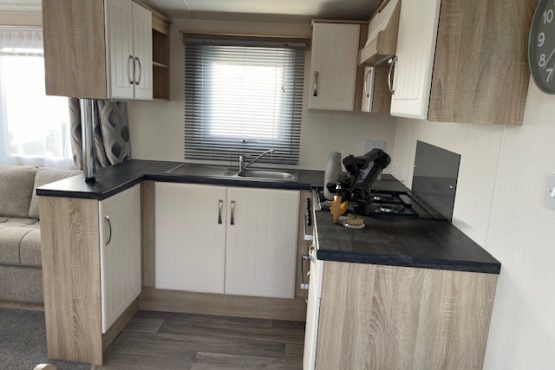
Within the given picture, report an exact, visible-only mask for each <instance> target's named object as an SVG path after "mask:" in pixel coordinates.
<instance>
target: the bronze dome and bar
mask: <svg viewBox="0 0 555 370" xmlns="http://www.w3.org/2000/svg"><path fill="white" fill-rule="evenodd" d="M341 200H342V196H338V195H336V196H335V198H334V200H333V201H334V209H333V214H332V223H335V224H338V223H340V220H341V221H342V220H343V221H345V223H346V224H349V225H356V226H358V225H362V224H363V223H364V219H363V218H362V215H357V214H356V216H353V214H351V213H348V214H347V216H346V215H345V216H344V215H340V211H341Z"/></svg>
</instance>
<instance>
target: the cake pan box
mask: <svg viewBox="0 0 555 370" xmlns="http://www.w3.org/2000/svg"><path fill="white" fill-rule="evenodd" d="M373 165H374V163H373V161H372V162H371V163H369V167H368V168H367V169H366V170H360V169H359V170H360V171H361V174H362V179H361V180H364V179H365V177H366V176H367V174H368V173H369V171H370V169H371V168H372V166H373ZM383 171H384V169H383V170H381V172H380V173H379V175H378V176H377V178H376V179H377V180H376V181H381V180H382V175H383ZM359 178H360V177H359Z"/></svg>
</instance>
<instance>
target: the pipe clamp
mask: <svg viewBox="0 0 555 370" xmlns="http://www.w3.org/2000/svg"><path fill="white" fill-rule="evenodd" d="M348 202H349V200H347V201H346V202H344V203H343V204H341V211H340V216H342V215H343V214H345V212H347V211H346V210H347V209H348ZM330 206H331V207H330V214H332V215H333V209H334V200H331V205H330Z"/></svg>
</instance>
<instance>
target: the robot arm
mask: <svg viewBox="0 0 555 370" xmlns="http://www.w3.org/2000/svg"><path fill="white" fill-rule="evenodd" d="M372 161H373V163H374V165H373V166H372V168H371V169H370V171H369V173H368V174H367V176H366V177H365V179H362V182H359V177H360V178H362V174H361V171H360V170H366V169H367V168H368V167H369V163H371V162H372ZM391 162H392V157H391V156H390V155H389V154H388V153H387V152H385V151H384V149H382V148H376V147H374V148H372V149H371V150H369V151H368V152H366V153H365V154H363V155H357V156H355V155H354V154H349V155H348V156H345V157H344V158H342V159H341V164H342V166H343V169H344V170H345V172H346V175H345V174H343V175H341V174H339V175H338V178H337V181H338V182H340V183H339V185H341V186H337V185H336V183H332V182H328V183H327V184H326V187H327V189H328V191H329V193H332V194H336V193H337V194H338V196H342V200H341V204H343V203H344V202H346V201H347V200H348V201H349V200H351V201H352V202H354V204H353V211H351V213H353V214H355V215H356V216H357V215H361V216H367V215H368V216H369V215H370V213H369V212H368V210H369V209H368V208H369V205H371V204H372V201H373V197H372V195H371V187H372V186H373V185H374V183H375V181H377V180H376V178H377V176H378V175H379V173H380V172H381V170H383V171H384V170H385V169H387V168H388V166H389V165H390V164H391ZM359 169H360V170H359Z"/></svg>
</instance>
